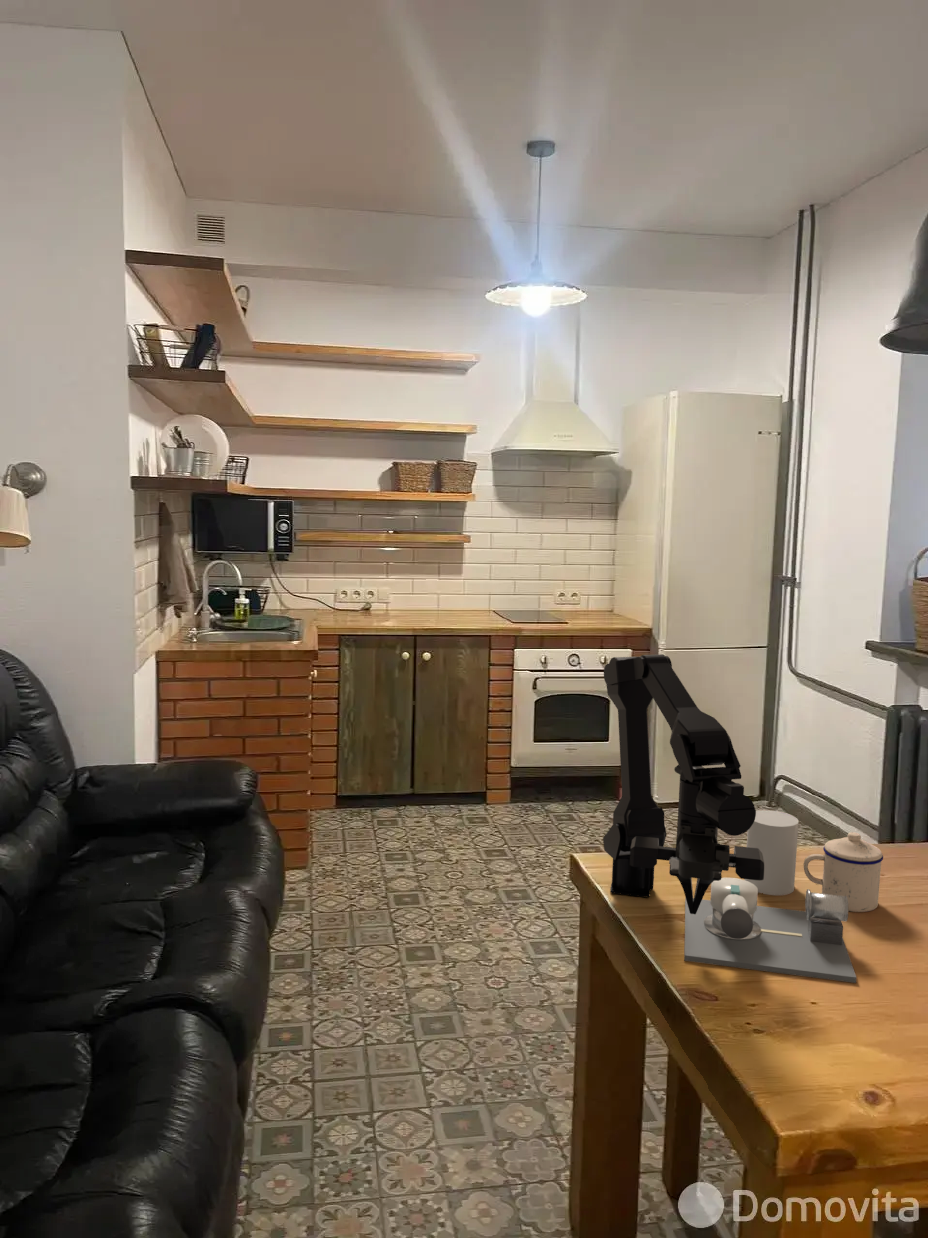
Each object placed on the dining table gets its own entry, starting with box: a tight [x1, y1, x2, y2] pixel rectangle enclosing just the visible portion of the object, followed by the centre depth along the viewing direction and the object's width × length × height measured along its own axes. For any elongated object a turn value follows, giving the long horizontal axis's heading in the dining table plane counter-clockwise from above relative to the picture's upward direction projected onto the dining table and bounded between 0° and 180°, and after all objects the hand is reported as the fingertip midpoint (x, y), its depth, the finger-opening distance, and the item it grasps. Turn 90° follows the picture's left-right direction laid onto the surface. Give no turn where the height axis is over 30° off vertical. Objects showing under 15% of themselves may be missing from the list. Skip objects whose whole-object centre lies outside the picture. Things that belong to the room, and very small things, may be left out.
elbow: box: [709, 877, 759, 939], centre depth 137 cm, size 13×7×4 cm, turn 166°
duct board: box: [683, 897, 858, 984], centre depth 139 cm, size 23×20×1 cm
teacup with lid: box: [803, 831, 884, 913], centre depth 153 cm, size 12×9×12 cm
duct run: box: [804, 889, 849, 945], centre depth 137 cm, size 6×4×7 cm
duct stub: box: [704, 908, 761, 940], centre depth 141 cm, size 8×8×3 cm
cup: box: [744, 809, 799, 896], centre depth 158 cm, size 8×8×12 cm
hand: (692, 913), depth 136 cm, fingers closed
